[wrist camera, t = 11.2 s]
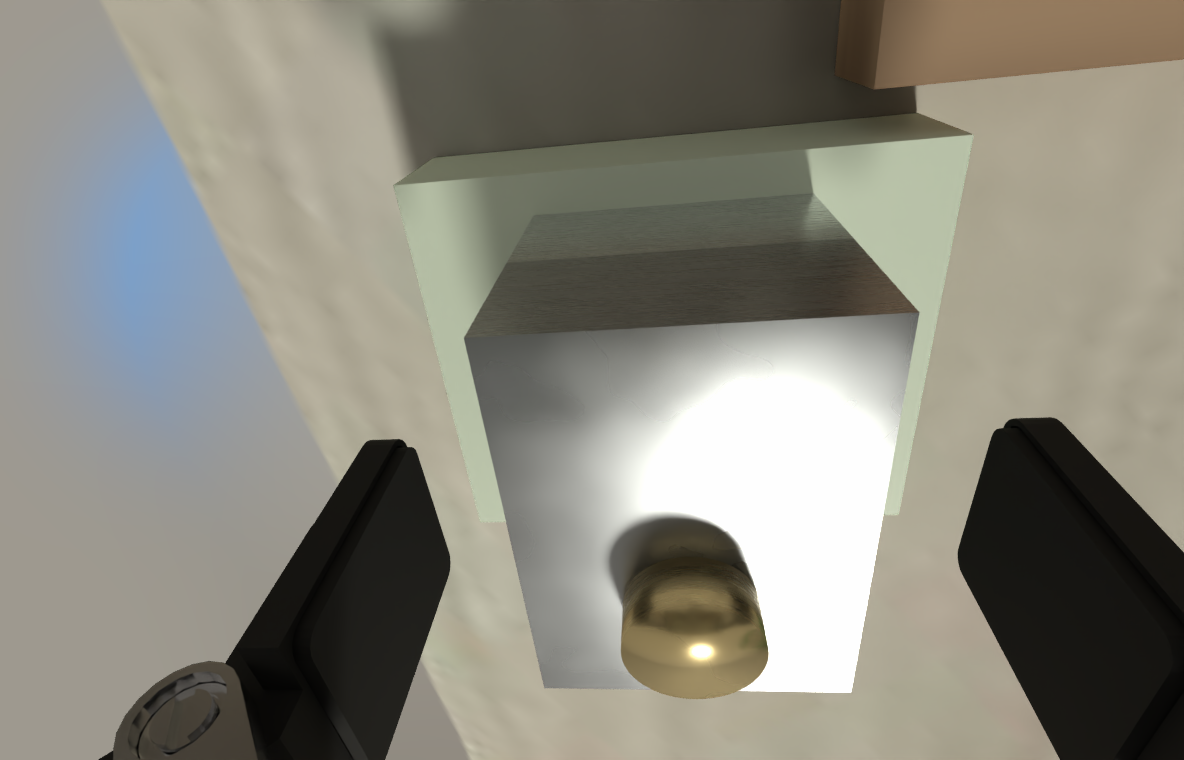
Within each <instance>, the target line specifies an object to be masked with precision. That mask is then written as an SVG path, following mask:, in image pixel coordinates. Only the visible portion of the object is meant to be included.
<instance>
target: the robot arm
mask: <svg viewBox="0 0 1184 760" xmlns="http://www.w3.org/2000/svg"><path fill="white" fill-rule="evenodd" d="M958 563H959V567H960V570H961V572H962V575H963V577H964V578H965V580H966V582H967V584H968V586H969V588H970V590H971V592H972V594H973V596H974V597H975V599H976V601H977V603H978V605H979V607H980V609H981V611H982V613H983V614H984V616H985V618H986V620H987V622H988V624H989V626H990V628H991V630H992V632H993V633H994V635H995V637H996V639H997V641H998V643H999V645H1000V647H1001V649H1002V650H1003V652H1004V654H1005V656H1006V658H1007V660H1008V662H1009V664H1010V666H1011V667H1012V669H1013V671H1014V673H1015V675H1016V677H1017V679H1018V681H1019V683H1020V685H1021V686H1022V688H1023V690H1024V692H1025V694H1026V696H1027V698H1028V700H1029V702H1030V703H1031V705H1032V707H1033V709H1034V711H1035V713H1036V715H1037V717H1038V719H1039V721H1040V722H1041V724H1042V726H1043V728H1044V730H1045V732H1046V734H1047V736H1048V738H1049V739H1050V741H1051V743H1052V745H1053V747H1054V749H1055V751H1056V753H1057V755H1058V757H1059V758H1060V760H1184V552H1183V551H1182V550H1181V549H1180V548H1179V547H1178V546H1177V545H1176V544H1175V543H1174V542H1173V541H1172V540H1171V539H1170V537H1169V536H1168V535H1167V534H1166V533H1165V532H1164V531H1163V530H1162V529H1161V528H1160V527H1159V526H1158V525H1157V524H1156V523H1155V522H1154V520H1153V519H1152V518H1151V517H1150V516H1149V515H1148V514H1147V513H1146V512H1145V511H1144V510H1143V509H1142V508H1141V507H1140V506H1139V504H1138V503H1137V502H1136V501H1135V500H1134V499H1133V498H1132V497H1131V496H1130V495H1129V494H1128V493H1127V492H1126V491H1125V490H1124V489H1123V487H1122V486H1121V485H1120V484H1119V483H1118V482H1117V481H1116V480H1115V479H1114V478H1113V477H1112V476H1111V475H1110V474H1109V473H1108V471H1107V470H1106V469H1105V468H1104V467H1103V466H1102V465H1101V464H1100V463H1099V462H1098V461H1097V460H1096V459H1095V458H1094V457H1093V455H1092V454H1091V453H1090V452H1089V451H1088V450H1087V449H1086V448H1085V447H1084V446H1083V445H1082V444H1081V443H1080V442H1079V441H1078V440H1077V438H1076V437H1075V436H1074V435H1073V434H1072V433H1071V432H1070V431H1069V430H1068V429H1067V428H1066V427H1065V426H1064V425H1063V424H1062V423H1061V422H1060V421H1059V420H1057V419H1055V418H1051V417H1049V418H1019V419H1011V420H1009V421H1008V422H1007V423H1006V424H1005V426H1004V428H1001V429H996V430H995V431H994V433H993V435H992V437H991V441H990V444H989V447H988V451H987V454H986V458H985V461H984V464H983V468H982V471H981V474H980V478H979V481H978V484H977V488H976V491H975V495H974V498H973V501H972V505H971V508H970V511H969V515H968V518H967V521H966V525H965V528H964V531H963V535H962V538H961V542H960V545H959V549H958ZM449 572H450V555H449V551H448V548H447V545H446V542H445V539H444V536H443V532H442V529H441V526H440V523H439V520H438V517H437V514H436V511H435V508H434V504H433V501H432V498H431V495H430V492H429V489H428V486H427V483H426V480H425V476H424V473H423V470H422V467H421V464H420V461H419V458H418V455H417V452H416V450H415V449H414V448H412V447H407V445H406V443H405V442H404V441H403V440H400V439H392V440H370V441H367V442H366V443H365V444H364V445H363V447H362V448H361V450H360V451H359V453H358V455H357V456H356V458H355V459H354V461H353V463H352V464H351V466H350V467H349V469H348V471H347V472H346V474H345V475H344V477H343V479H342V480H341V482H340V483H339V485H338V486H337V488H336V490H335V491H334V493H333V495H332V496H331V498H330V499H329V501H328V502H327V504H326V506H325V507H324V509H323V510H322V512H321V514H320V515H319V517H318V518H317V520H316V522H315V523H314V524H313V526H312V527H311V528H310V530H309V531H308V533H307V534H306V536H305V537H304V539H303V541H302V543H301V544H300V545H299V547H298V549H297V550H296V552H295V553H294V555H293V557H292V558H291V560H290V561H289V563H288V564H287V566H286V568H285V569H284V571H283V572H282V574H281V576H280V577H279V579H278V580H277V582H276V583H275V585H274V587H273V588H272V590H271V592H270V593H269V595H268V596H267V598H266V599H265V601H264V602H263V604H262V606H261V607H260V609H259V610H258V612H257V614H256V615H255V617H254V619H253V620H252V622H251V623H250V625H249V626H248V628H247V629H246V631H245V633H244V634H243V636H242V637H241V639H240V641H239V642H238V644H237V645H236V647H235V649H234V650H233V652H232V653H231V655H230V656H229V658H228V660H227V661H226V663H222V662H213V661H207V662H201V663H196V664H192V665H190V666H187V667H185V668H182V669H180V670H177V671H175V672H173V673H171V674H170V675H168V676H167V677H165V678H164V679H162V680H160V681H159V682H157V683H156V684H155V685H153V686H152V687H151V688H150V689H149V690H148V691H147V692H146V693H145V694H143V695H142V696H141V697H140V698H139V699H138V700H137V701H136V703H135V704H134V705H133V706H132V708H131V709H130V710H129V711H128V713H127V714H126V715H125V717H124V719H123V721H122V723H121V725H120V727H119V729H118V731H117V732H116V737H115V742H114V748H113V751H112V752H110V753H108V754H107V755H105V756H104V757H102V758H100V759H99V760H385V758H386V755H387V753H388V750H389V747H390V744H391V741H392V738H393V735H394V733H395V730H396V727H397V724H398V721H399V718H400V715H401V712H402V709H403V706H404V704H405V701H406V698H407V695H408V692H409V689H410V686H411V683H412V680H413V677H414V675H415V672H416V669H417V665H418V663H419V660H420V657H421V654H422V651H423V649H424V646H425V643H426V640H427V637H428V634H429V631H430V628H431V625H432V622H433V620H434V617H435V614H436V611H437V608H438V605H439V602H440V599H441V596H442V593H443V591H444V588H445V585H446V582H447V579H448V576H449Z"/></svg>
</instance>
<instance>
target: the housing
mask: <svg viewBox="0 0 1184 760" xmlns="http://www.w3.org/2000/svg"><path fill="white" fill-rule="evenodd" d="M919 313H920V312H919V311H918V310H917V309H916V308H915V307H914V306H913V304H912V303H911V302H910V301H909V300H908V299H907V298H906V297H905V295H904V294H903V293H902V292H901V291H900V290H899V289H898V288H897V286H896V285H895V284H894V283H893V282H892V281H891V280H890V279H889V277H888V276H887V275H886V274H885V273H884V272H883V271H882V270H881V268H880V267H879V266H878V265H877V264H876V263H875V262H874V261H873V259H872V258H871V257H870V256H869V255H868V254H867V253H866V252H865V250H864V249H863V248H862V247H861V246H860V245H859V244H858V243H857V241H856V240H855V239H854V238H853V237H852V236H851V235H850V234H849V232H848V231H847V230H846V229H845V228H844V227H843V226H842V225H841V223H840V222H839V221H838V220H837V219H836V218H835V217H834V216H833V214H832V213H831V212H830V211H829V210H828V209H827V208H826V207H825V205H824V204H823V203H822V202H821V201H820V200H819V199H818V198H817V196H816V195H815V194H814V193H807V194H795V195H782V196H770V197H757V198H745V199H732V200H720V201H707V202H695V203H682V204H670V205H657V206H645V207H632V208H620V209H607V210H595V211H582V212H570V213H557V214H545V215H533V217H532V219H531V221H530V223H529V224H528V226H527V228H526V230H525V231H524V233H523V235H522V237H521V238H520V240H519V242H518V244H517V245H516V247H515V249H514V251H513V252H512V254H511V256H510V258H509V259H508V261H507V263H506V265H505V266H504V268H503V270H502V272H501V273H500V275H499V277H498V279H497V280H496V282H495V284H494V286H493V287H492V289H491V291H490V293H489V295H488V296H487V298H486V300H485V302H484V303H483V305H482V307H481V309H480V310H479V312H478V314H477V316H476V317H475V319H474V321H473V323H472V324H471V326H470V328H469V330H468V331H467V333H466V335H465V337H464V341H465V346H466V350H467V354H468V359H469V363H470V367H471V372H472V376H473V380H474V385H475V389H476V393H477V398H478V402H479V406H480V411H481V415H482V419H483V424H484V428H485V433H486V437H487V441H488V446H489V450H490V454H491V459H492V463H493V467H494V472H495V476H496V480H497V485H498V489H499V493H500V498H501V502H502V506H503V511H504V515H505V519H506V524H507V528H508V532H509V537H510V541H511V545H512V550H513V554H514V558H515V563H516V567H517V571H518V576H519V580H520V584H521V589H522V593H523V597H524V602H525V606H526V610H527V615H528V619H529V623H530V628H531V632H532V636H533V641H534V645H535V649H536V654H537V658H538V662H539V667H540V671H541V675H542V680H543V684H544V688H577V689H646V690H654V691H657V692H659V693H662V694H666V695H669V696H674V697H679V698H687V699H706V698H715V697H720V696H725V695H728V694H731V693H734V692H737V691H783V692H851V690H852V685H853V679H854V673H855V668H856V662H857V657H858V651H859V646H860V640H861V635H862V629H863V624H864V618H865V612H866V607H867V601H868V596H869V590H870V585H871V579H872V574H873V568H874V562H875V557H876V551H877V546H878V540H879V535H880V529H881V524H882V518H883V513H884V507H885V501H886V496H887V490H888V485H889V479H890V474H891V468H892V463H893V457H894V452H895V446H896V440H897V435H898V429H899V424H900V418H901V413H902V407H903V402H904V396H905V391H906V385H907V379H908V374H909V368H910V363H911V357H912V352H913V346H914V341H915V335H916V330H917V324H918V318H919Z"/></svg>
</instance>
